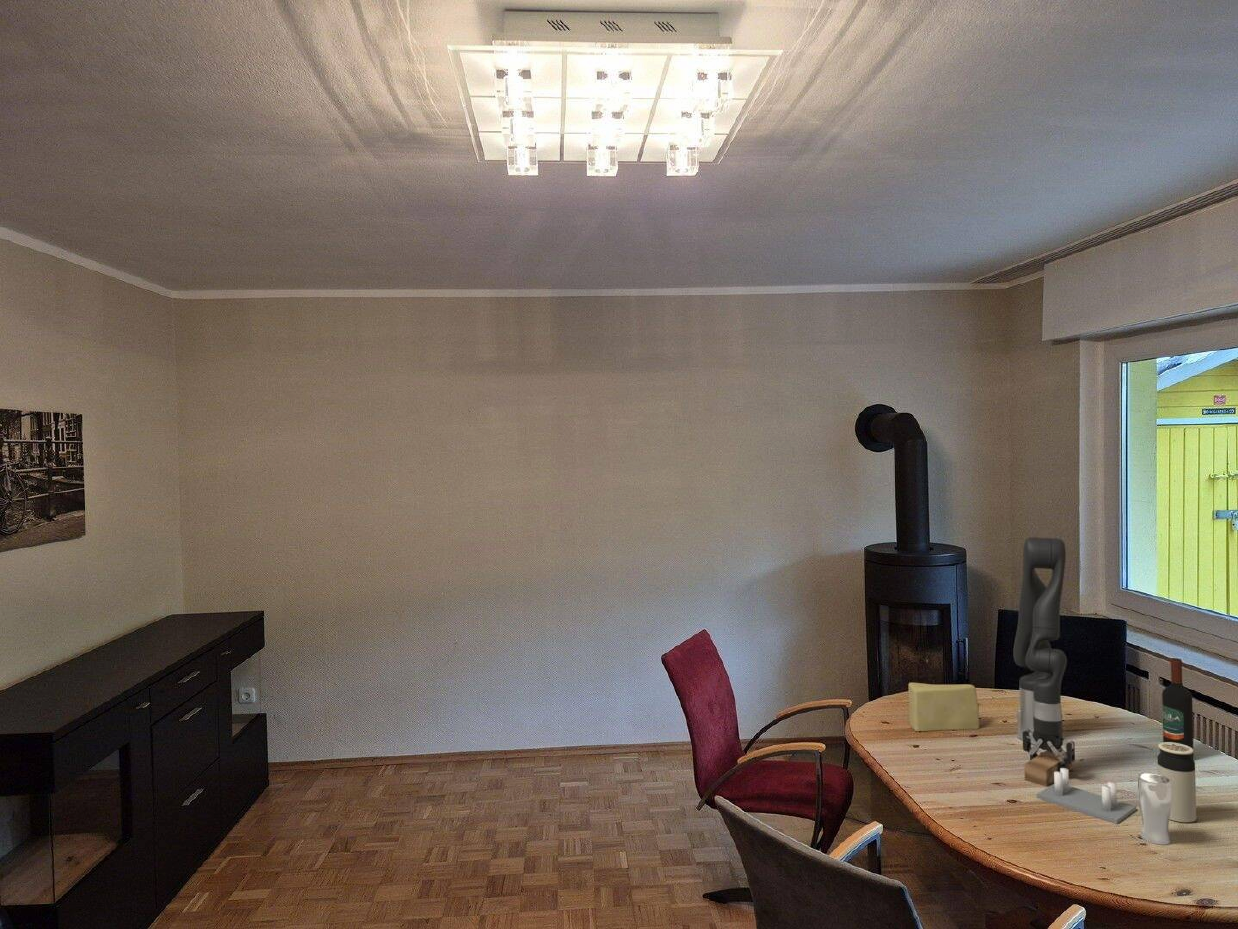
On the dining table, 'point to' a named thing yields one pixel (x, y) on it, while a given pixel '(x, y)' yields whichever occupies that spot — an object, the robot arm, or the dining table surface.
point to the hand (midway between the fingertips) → (1048, 771)
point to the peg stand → (1086, 799)
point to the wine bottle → (1177, 709)
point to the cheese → (943, 707)
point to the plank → (1043, 768)
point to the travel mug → (1179, 779)
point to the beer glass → (1155, 807)
